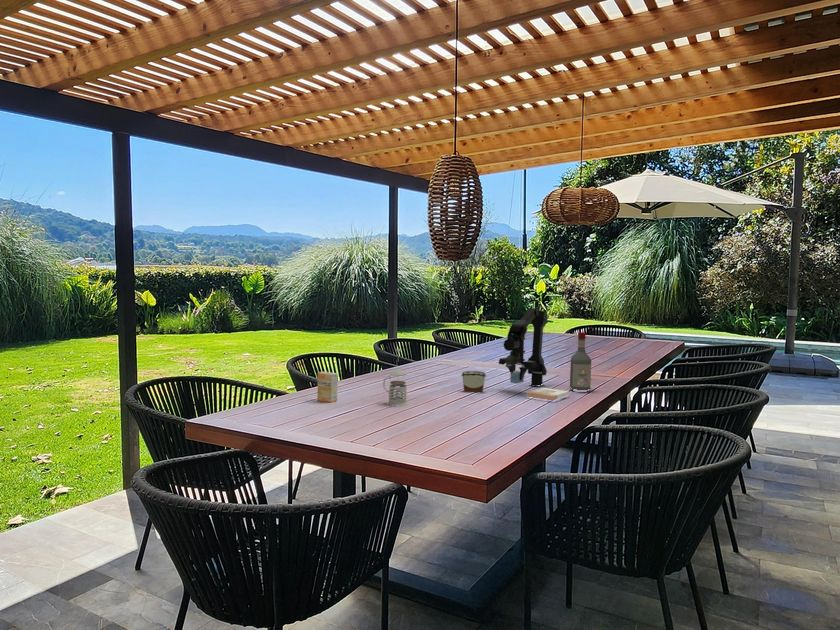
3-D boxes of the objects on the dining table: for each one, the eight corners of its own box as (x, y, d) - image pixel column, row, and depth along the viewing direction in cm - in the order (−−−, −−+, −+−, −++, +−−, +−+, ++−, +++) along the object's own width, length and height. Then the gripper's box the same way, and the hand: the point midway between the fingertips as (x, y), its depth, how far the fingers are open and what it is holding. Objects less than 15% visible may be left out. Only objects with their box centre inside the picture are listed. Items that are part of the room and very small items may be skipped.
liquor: (591, 392, 297) (593, 333, 295) (573, 392, 297) (575, 333, 295) (586, 389, 306) (588, 331, 304) (568, 389, 306) (570, 331, 304)
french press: (405, 406, 261) (406, 350, 259) (380, 404, 263) (381, 349, 261) (410, 401, 271) (411, 347, 269) (386, 400, 273) (386, 346, 271)
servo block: (518, 380, 298) (518, 369, 298) (525, 381, 296) (525, 370, 295) (508, 382, 291) (509, 371, 291) (515, 383, 289) (516, 372, 288)
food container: (485, 390, 299) (486, 371, 298) (485, 393, 293) (486, 373, 292) (461, 389, 300) (461, 370, 299) (460, 392, 294) (461, 372, 293)
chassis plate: (542, 393, 294) (542, 387, 294) (568, 397, 285) (568, 391, 285) (526, 398, 282) (526, 392, 281) (553, 402, 273) (553, 396, 272)
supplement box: (316, 400, 270) (316, 372, 269) (323, 399, 274) (323, 371, 273) (331, 403, 266) (331, 374, 265) (337, 401, 270) (337, 372, 269)
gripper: (493, 348, 292) (492, 379, 293) (526, 352, 280) (525, 384, 281) (505, 346, 301) (504, 376, 302) (537, 350, 289) (536, 381, 290)
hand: (517, 379), depth 294 cm, fingers closed on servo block, 4 cm apart
